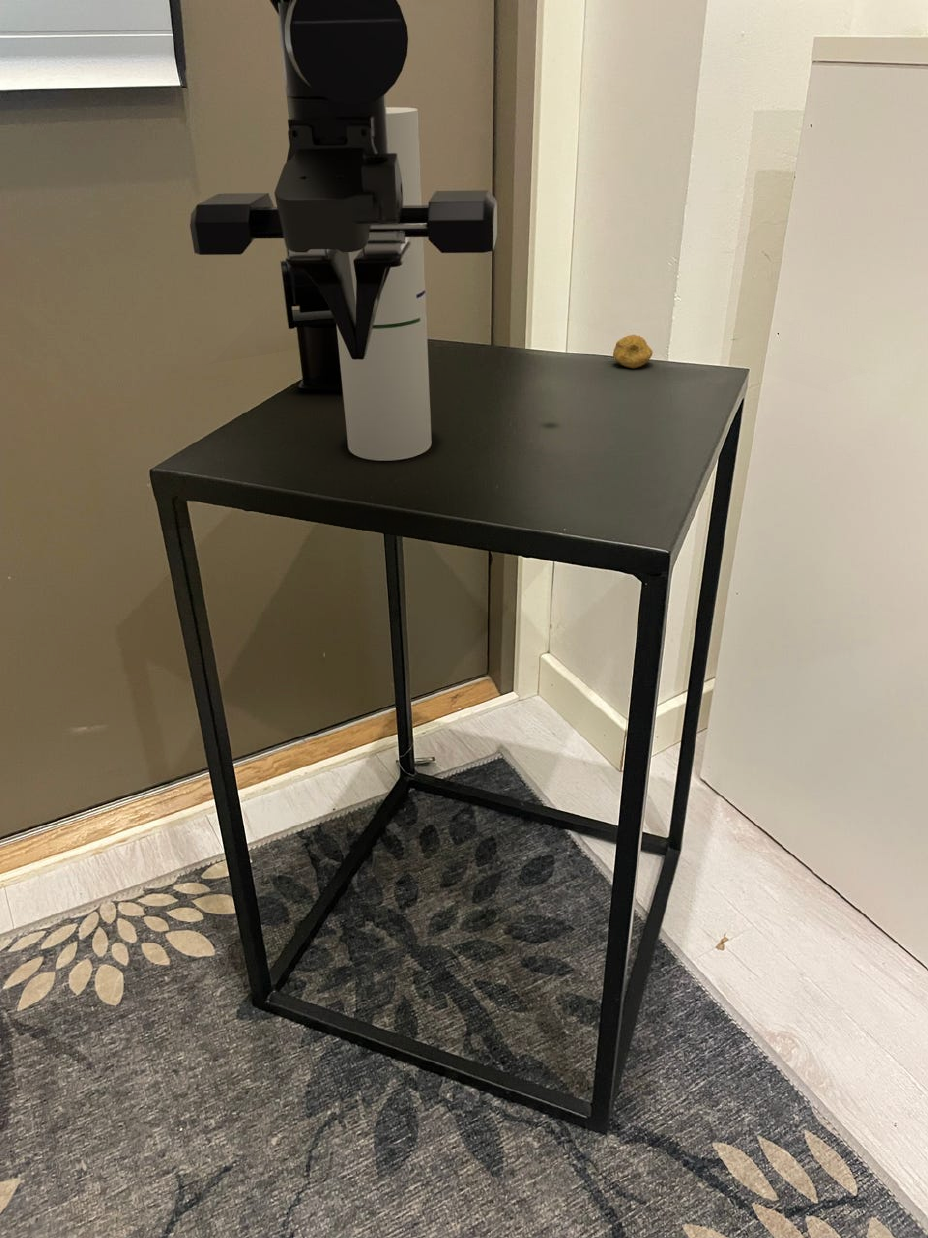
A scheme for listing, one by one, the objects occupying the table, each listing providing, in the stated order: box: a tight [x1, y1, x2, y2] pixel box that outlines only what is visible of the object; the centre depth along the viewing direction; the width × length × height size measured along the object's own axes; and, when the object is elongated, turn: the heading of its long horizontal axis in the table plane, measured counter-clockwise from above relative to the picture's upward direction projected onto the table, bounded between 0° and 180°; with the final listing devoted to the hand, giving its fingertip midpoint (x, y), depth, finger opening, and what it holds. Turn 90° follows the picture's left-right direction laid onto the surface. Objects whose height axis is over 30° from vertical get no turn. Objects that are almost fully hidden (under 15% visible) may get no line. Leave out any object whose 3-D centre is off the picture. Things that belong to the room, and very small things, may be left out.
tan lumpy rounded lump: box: [612, 334, 654, 369], centre depth 95 cm, size 4×4×3 cm
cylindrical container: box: [336, 106, 433, 462], centre depth 72 cm, size 7×7×25 cm
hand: (359, 357), depth 63 cm, fingers closed
